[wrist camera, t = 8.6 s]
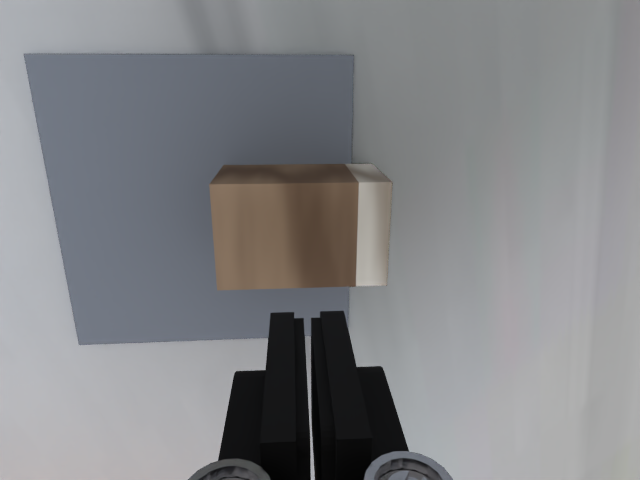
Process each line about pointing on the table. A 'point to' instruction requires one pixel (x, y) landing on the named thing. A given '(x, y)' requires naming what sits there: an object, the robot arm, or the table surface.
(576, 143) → the table surface
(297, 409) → the robot arm
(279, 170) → the walnut block
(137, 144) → the mat
